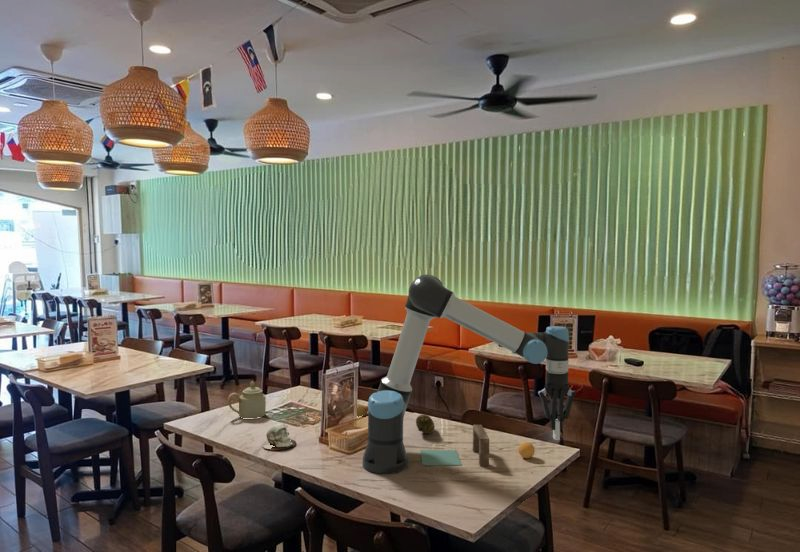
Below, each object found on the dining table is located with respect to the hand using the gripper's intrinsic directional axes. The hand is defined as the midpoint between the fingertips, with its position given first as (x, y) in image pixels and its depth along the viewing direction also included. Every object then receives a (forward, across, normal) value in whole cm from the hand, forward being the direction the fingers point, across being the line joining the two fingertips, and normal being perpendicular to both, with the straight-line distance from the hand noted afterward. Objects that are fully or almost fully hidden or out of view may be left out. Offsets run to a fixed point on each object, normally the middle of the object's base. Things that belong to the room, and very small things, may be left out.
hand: (556, 438), depth 182 cm
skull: (+6, -98, +12) cm, 99 cm away
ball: (+4, -10, 0) cm, 11 cm away
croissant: (+6, -74, +44) cm, 86 cm away
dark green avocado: (+6, -43, +25) cm, 51 cm away
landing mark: (+6, -40, 0) cm, 41 cm away
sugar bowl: (+5, -117, +45) cm, 126 cm away
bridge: (+6, -26, 0) cm, 27 cm away
